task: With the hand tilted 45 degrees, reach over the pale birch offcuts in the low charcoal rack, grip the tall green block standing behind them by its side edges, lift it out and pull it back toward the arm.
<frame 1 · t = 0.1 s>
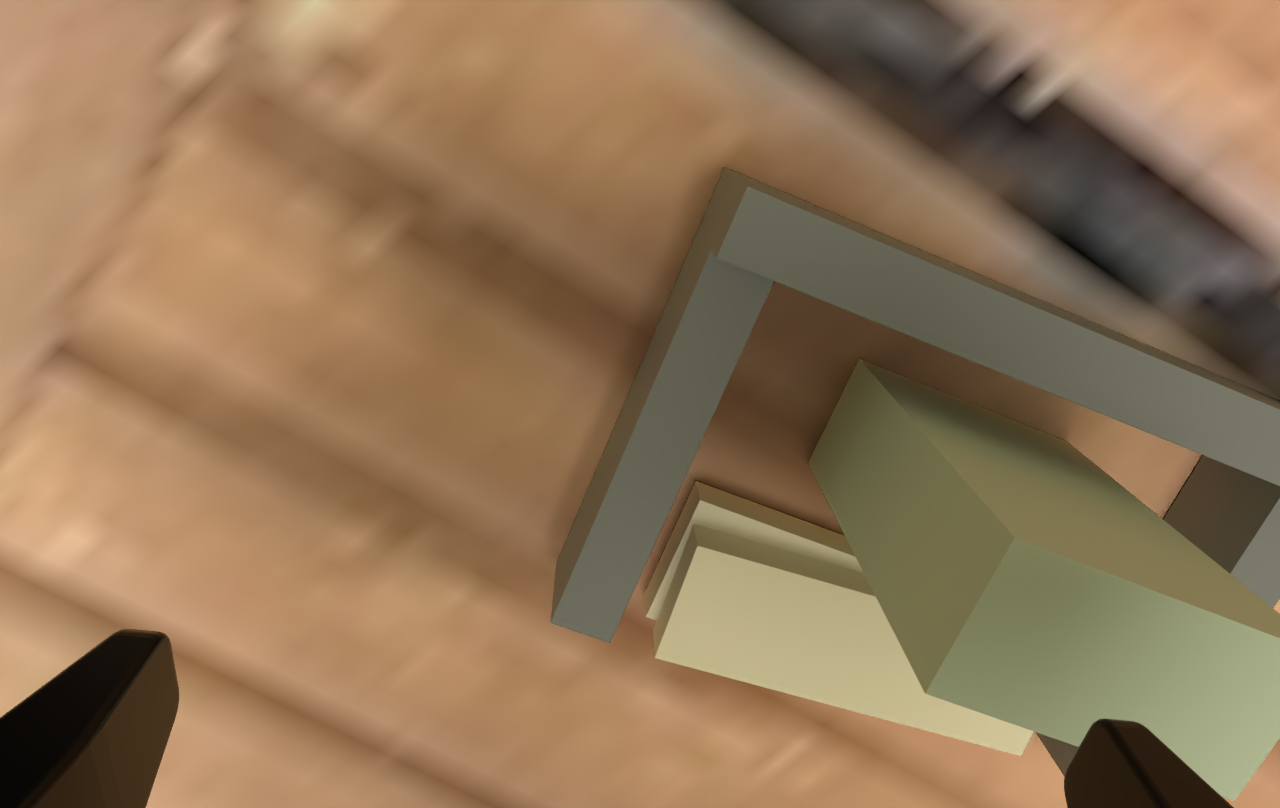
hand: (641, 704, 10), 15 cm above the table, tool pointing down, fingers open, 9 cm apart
green block: (937, 452, 26), resting in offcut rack
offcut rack: (938, 452, 26), on the table
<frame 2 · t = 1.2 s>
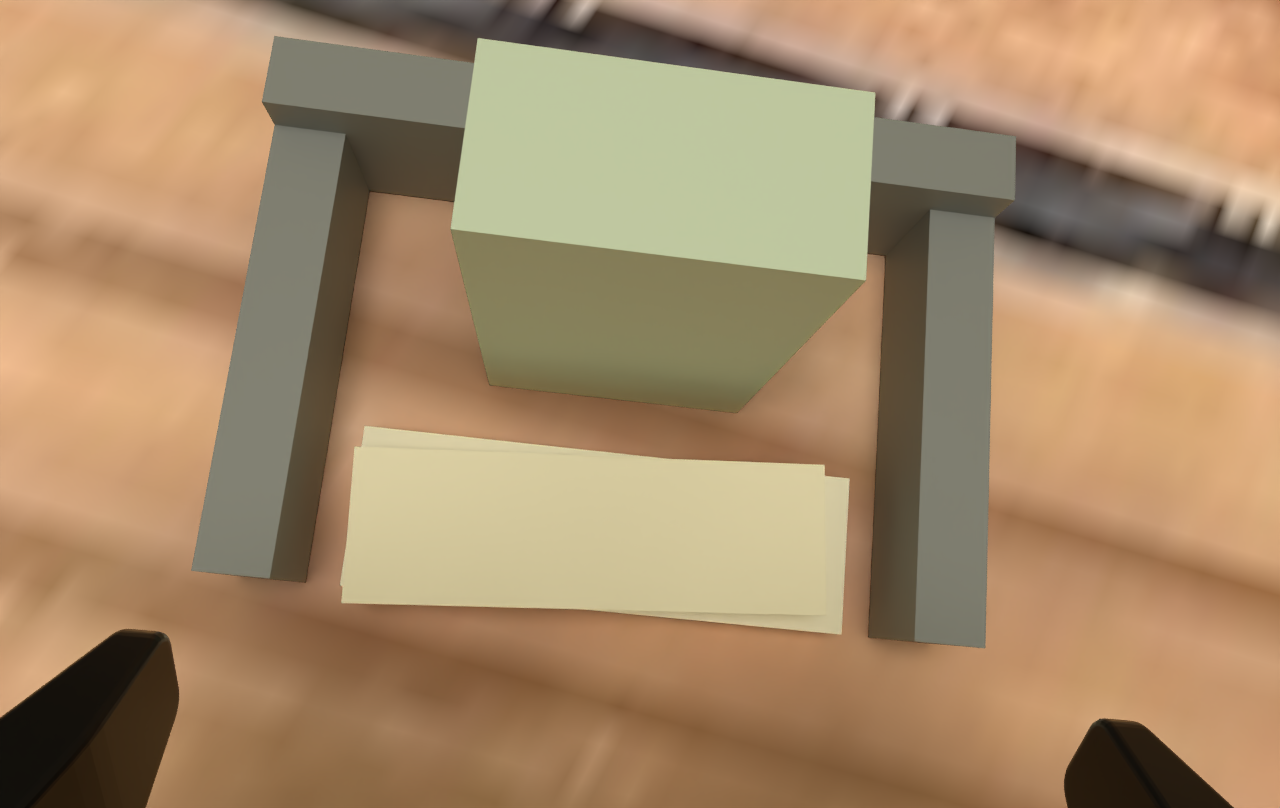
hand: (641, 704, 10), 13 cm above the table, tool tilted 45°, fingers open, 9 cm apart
green block: (620, 339, 24), resting in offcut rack
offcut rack: (620, 339, 24), on the table
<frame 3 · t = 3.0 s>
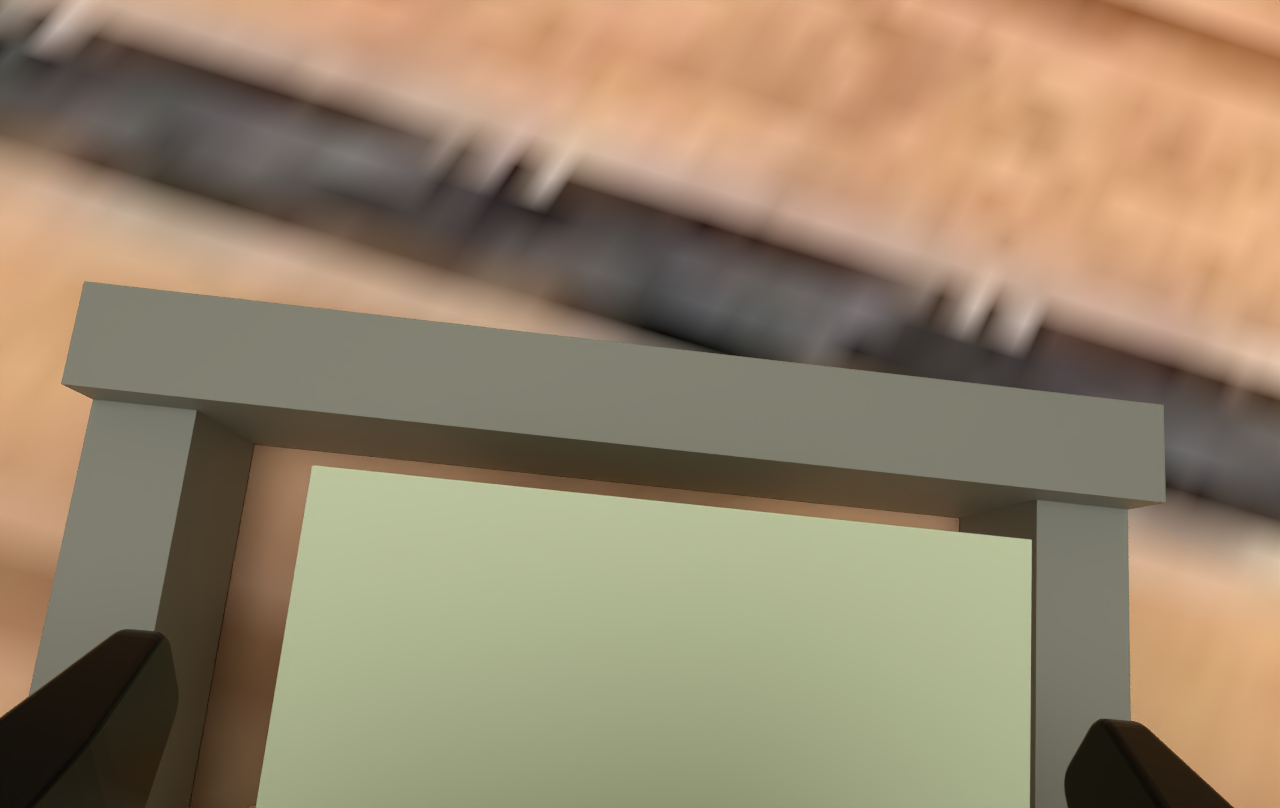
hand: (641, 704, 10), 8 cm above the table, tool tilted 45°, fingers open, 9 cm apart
green block: (599, 650, 18), resting in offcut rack
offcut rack: (599, 650, 18), on the table
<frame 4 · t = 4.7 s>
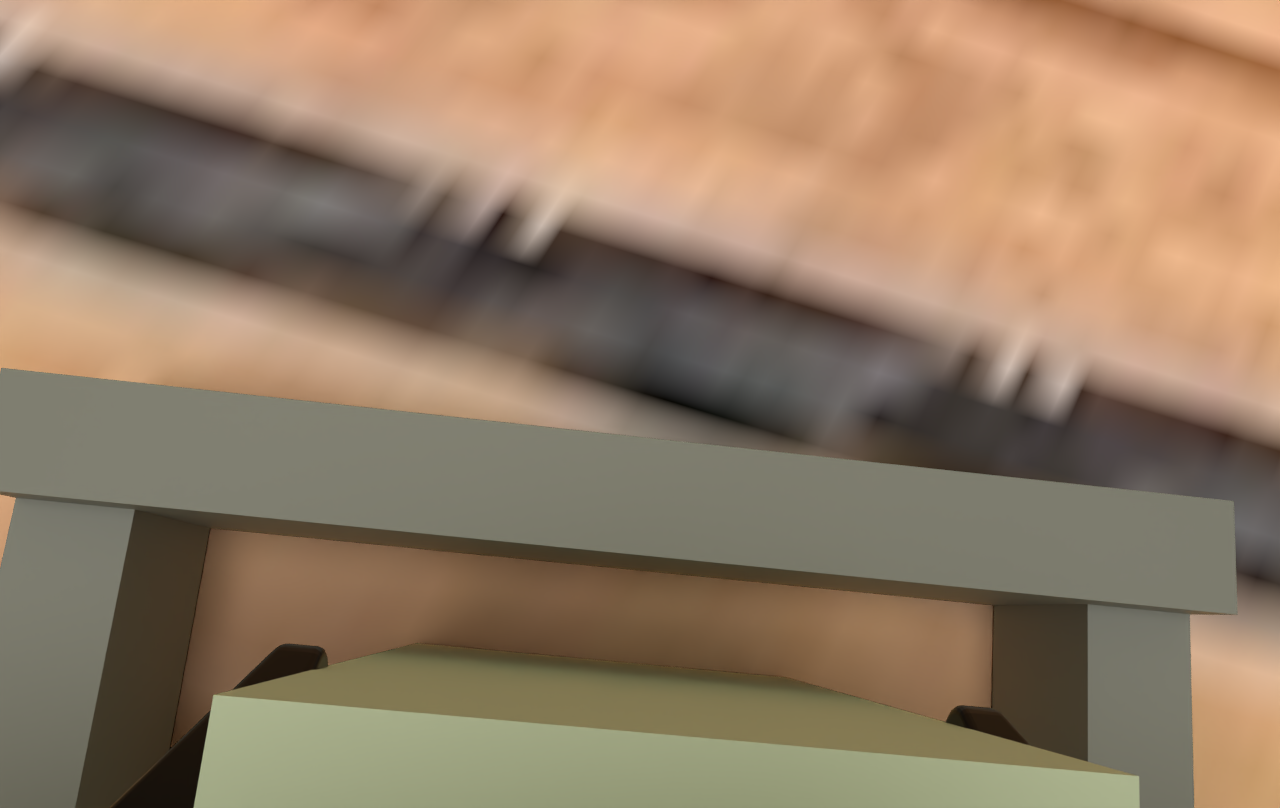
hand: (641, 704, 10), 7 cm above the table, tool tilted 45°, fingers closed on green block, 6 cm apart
green block: (594, 757, 16), resting in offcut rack, touching gripper
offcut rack: (594, 758, 16), on the table
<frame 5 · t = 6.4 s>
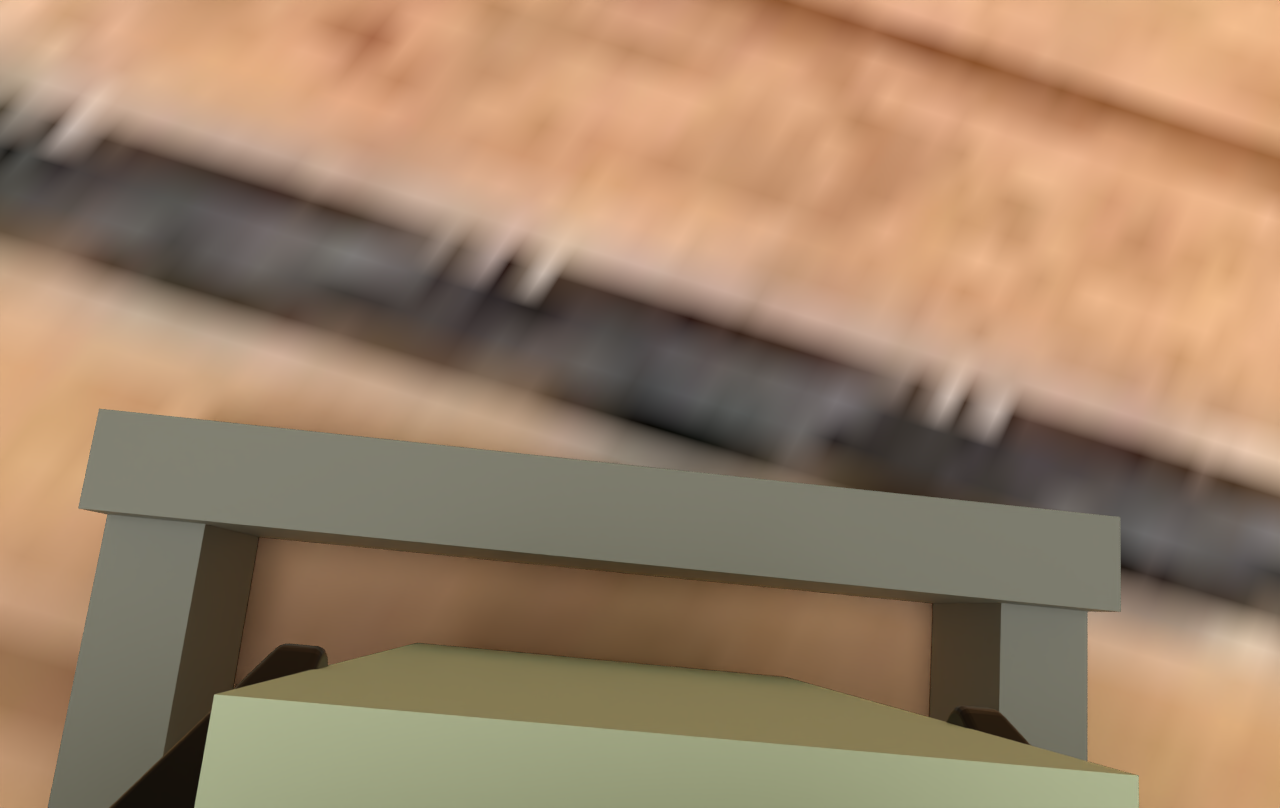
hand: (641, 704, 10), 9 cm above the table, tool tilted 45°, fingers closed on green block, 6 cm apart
green block: (594, 757, 16), point 3 cm above the table, touching gripper
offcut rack: (587, 734, 19), on the table
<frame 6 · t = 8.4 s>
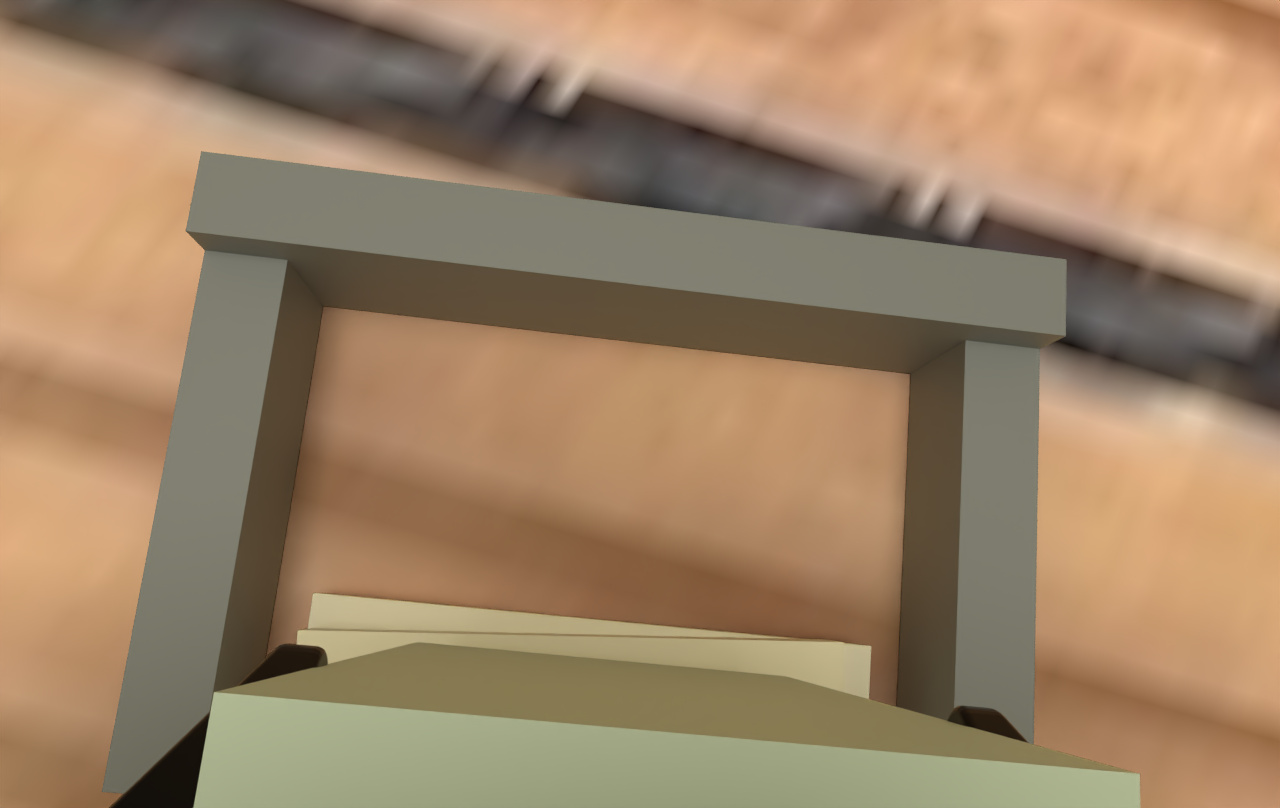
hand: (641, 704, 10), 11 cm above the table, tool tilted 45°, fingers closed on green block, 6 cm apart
green block: (594, 756, 16), point 5 cm above the table, touching gripper
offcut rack: (609, 475, 21), on the table
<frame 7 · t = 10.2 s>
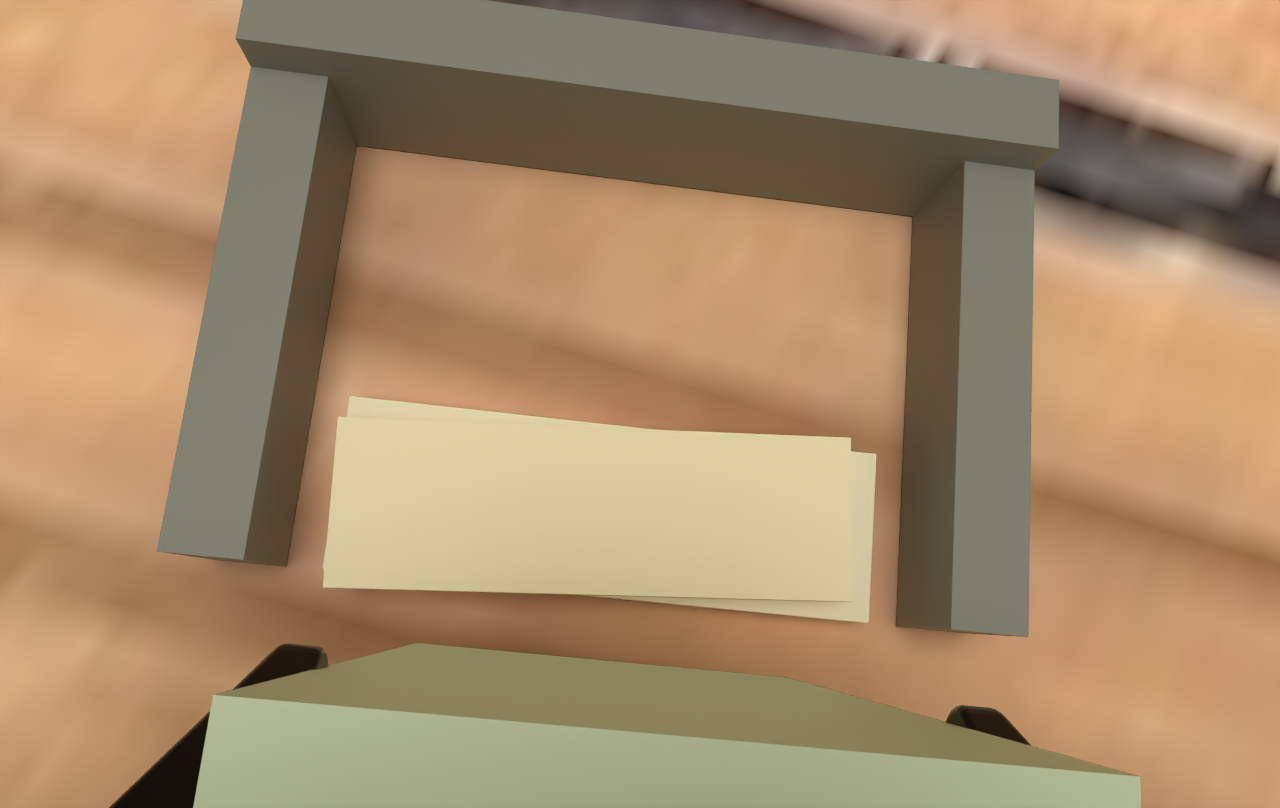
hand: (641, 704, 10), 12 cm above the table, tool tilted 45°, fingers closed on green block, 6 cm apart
green block: (594, 757, 16), point 5 cm above the table, touching gripper
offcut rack: (627, 304, 23), on the table
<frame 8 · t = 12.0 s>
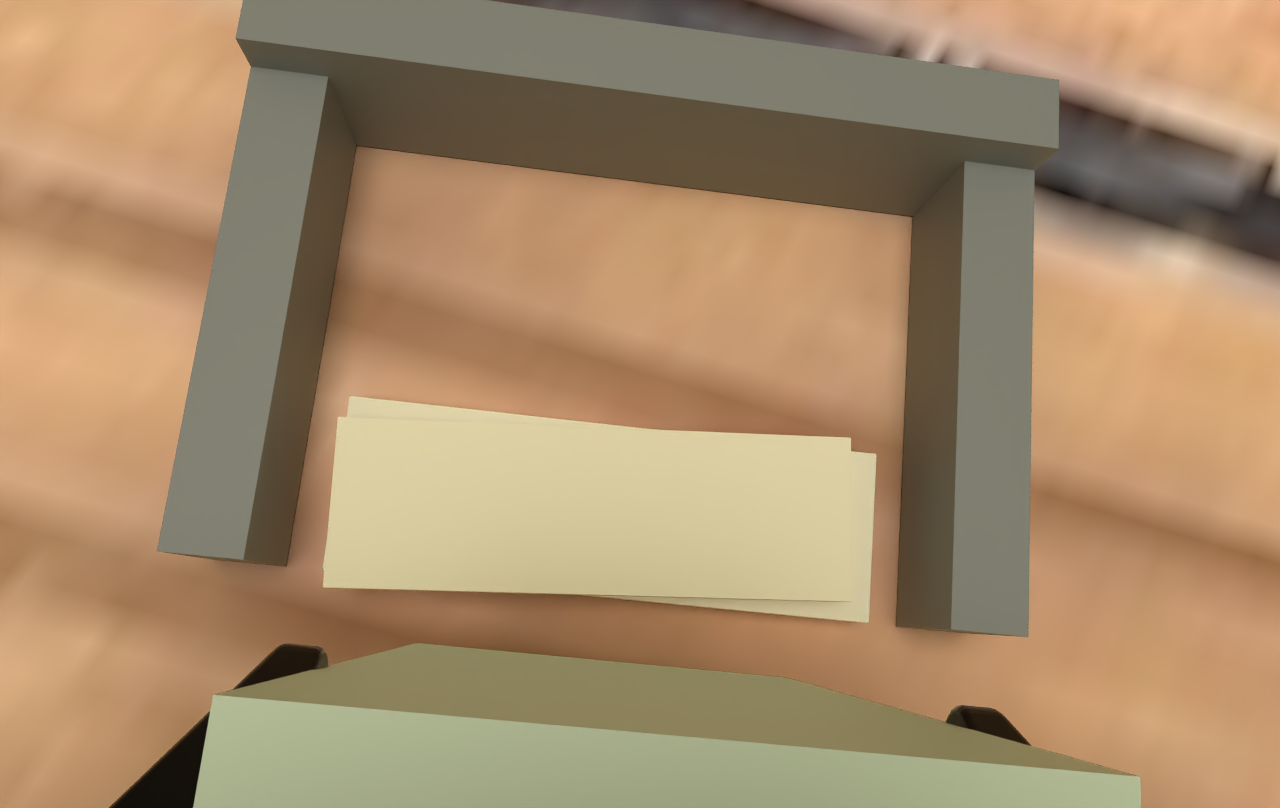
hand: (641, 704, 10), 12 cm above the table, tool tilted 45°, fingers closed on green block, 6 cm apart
green block: (594, 757, 16), point 5 cm above the table, touching gripper
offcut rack: (627, 304, 23), on the table
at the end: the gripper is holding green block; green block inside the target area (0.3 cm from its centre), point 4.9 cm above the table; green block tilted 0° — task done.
